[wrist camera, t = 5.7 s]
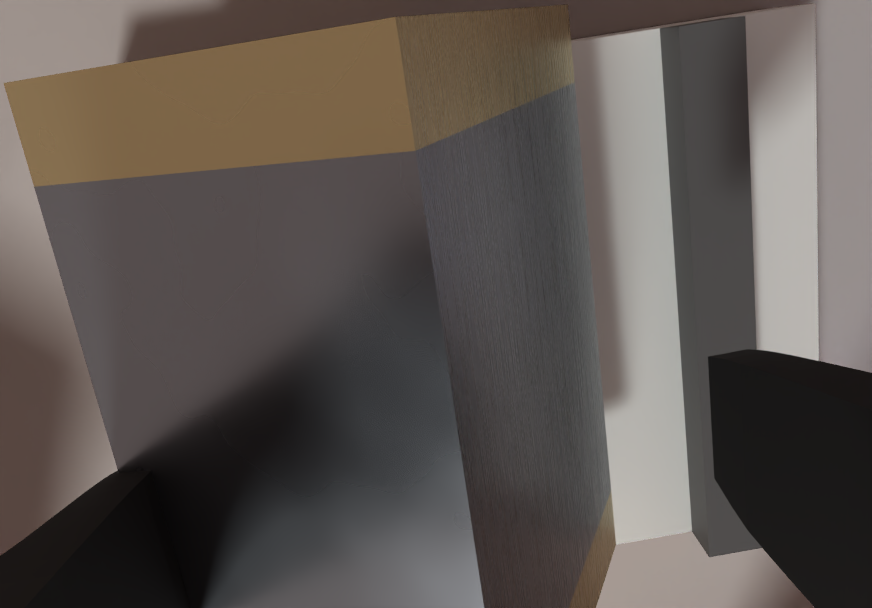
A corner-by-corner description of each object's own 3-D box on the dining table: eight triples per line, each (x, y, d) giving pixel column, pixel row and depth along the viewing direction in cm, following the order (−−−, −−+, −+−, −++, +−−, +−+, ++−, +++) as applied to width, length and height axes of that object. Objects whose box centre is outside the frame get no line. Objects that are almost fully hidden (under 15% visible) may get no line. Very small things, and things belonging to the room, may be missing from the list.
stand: (766, 9, 17) (844, -1, 14) (778, 466, 21) (844, 533, 18) (108, 114, 17) (54, 125, 14) (228, 562, 20) (204, 646, 17)
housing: (615, 543, 16) (519, 845, 10) (387, 519, 18) (203, 761, 12) (567, 4, 13) (395, 17, 7) (299, 47, 15) (2, 83, 9)
